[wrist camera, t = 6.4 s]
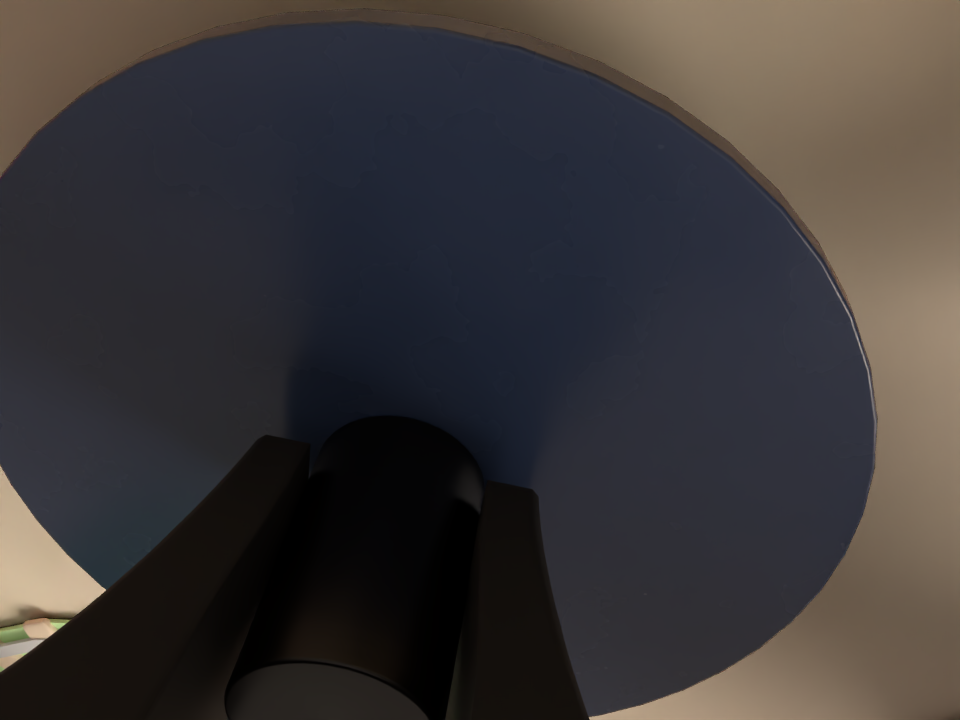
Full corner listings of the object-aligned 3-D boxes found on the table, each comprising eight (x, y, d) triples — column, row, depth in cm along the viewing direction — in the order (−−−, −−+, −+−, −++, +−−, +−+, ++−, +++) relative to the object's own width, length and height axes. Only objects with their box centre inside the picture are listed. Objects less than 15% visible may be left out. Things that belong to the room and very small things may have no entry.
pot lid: (967, 577, 14) (1099, 922, 10) (334, 723, 19) (259, 990, 15) (606, -275, 8) (589, -232, 4) (-172, 267, 13) (-507, 513, 9)
